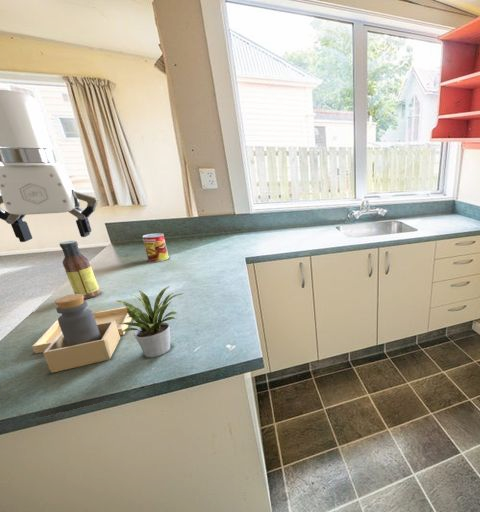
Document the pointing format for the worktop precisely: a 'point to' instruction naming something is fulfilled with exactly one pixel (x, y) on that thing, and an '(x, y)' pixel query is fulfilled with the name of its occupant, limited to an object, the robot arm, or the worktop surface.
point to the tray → (99, 318)
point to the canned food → (155, 247)
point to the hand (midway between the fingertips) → (57, 238)
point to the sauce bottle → (79, 270)
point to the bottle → (76, 320)
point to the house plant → (151, 324)
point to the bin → (82, 349)
